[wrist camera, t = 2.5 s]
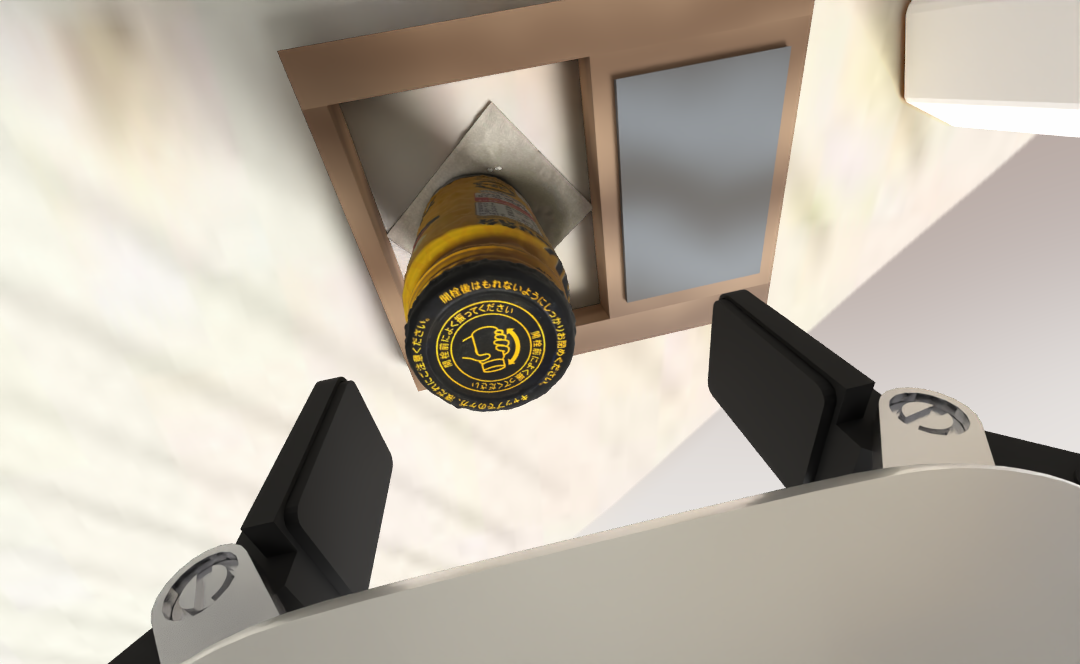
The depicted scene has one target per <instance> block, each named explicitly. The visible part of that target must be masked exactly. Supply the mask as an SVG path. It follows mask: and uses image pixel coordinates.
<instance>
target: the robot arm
mask: <svg viewBox="0 0 1080 664" xmlns="http://www.w3.org/2000/svg"><path fill="white" fill-rule="evenodd" d="M874 384H875V382H874V381H873V380H871V379H870V378H868V377H867V376H866V375H864V374H863V373H862V372H860V371H859V370H857V369H856V368H854V367H853V366H852V365H850V364H849V363H848V362H846V361H845V360H843V359H842V358H841V357H839V356H838V355H837V354H835V353H834V352H832V351H831V350H830V349H828V348H826V347H825V346H824V345H823V344H821V343H820V342H819V341H817V340H816V339H814V338H813V337H812V336H810V335H809V334H807V333H806V332H805V331H803V330H802V329H800V328H799V327H798V326H796V325H795V324H794V323H792V322H791V321H789V320H788V319H787V318H785V317H784V316H782V315H781V314H780V313H778V312H777V311H775V310H774V309H773V308H771V307H770V306H769V305H767V304H766V303H764V302H763V301H762V300H760V299H759V298H757V297H756V296H755V295H753V294H752V293H750V292H749V291H747V290H745V289H743V290H738V291H733V292H728V293H724V294H722V295H720V297H719V300H718V301H715V302H714V304H713V314H712V328H711V343H710V358H709V372H708V387H709V390H710V392H711V394H712V396H713V397H714V398H715V399H716V401H717V402H718V403H719V404H720V406H721V407H722V408H723V409H724V410H725V412H726V413H727V414H728V416H729V417H730V418H731V419H732V421H733V422H734V423H735V424H736V426H737V427H738V428H739V429H740V431H741V432H742V433H743V435H744V436H745V437H746V438H747V439H748V441H749V442H750V443H751V445H752V446H753V447H754V448H755V450H756V451H757V452H758V453H759V455H760V456H761V457H762V458H763V460H764V461H765V462H766V463H767V465H768V466H769V467H770V468H771V470H772V471H773V472H774V473H775V474H776V476H777V477H778V478H779V480H780V481H781V482H782V483H783V485H784V486H785V487H786V488H784V489H780V490H775V491H771V492H768V493H763V494H759V495H754V496H750V497H746V498H742V499H737V500H733V501H729V502H724V503H720V504H716V505H712V506H707V507H703V508H699V509H695V510H690V511H686V512H682V513H678V514H673V515H669V516H665V517H661V518H657V519H652V520H649V521H644V522H640V523H636V524H631V525H627V526H623V527H619V528H615V529H611V530H607V531H602V532H598V533H595V534H590V535H586V536H582V537H577V538H573V539H569V540H565V541H561V542H557V543H553V544H548V545H544V546H540V547H536V548H532V549H528V550H524V551H520V552H515V553H511V554H507V555H503V556H499V557H495V558H491V559H487V560H483V561H479V562H475V563H471V564H467V565H463V566H459V567H455V568H451V569H447V570H442V571H438V572H434V573H430V574H426V575H422V576H418V577H414V578H410V579H406V580H402V581H398V582H394V583H391V584H387V585H383V586H379V587H375V588H372V589H368V588H369V583H370V578H371V573H372V568H373V563H374V558H375V553H376V548H377V543H378V538H379V533H380V528H381V523H382V518H383V513H384V508H385V503H386V498H387V493H388V488H389V483H390V478H391V473H392V468H393V461H392V456H391V453H390V451H389V449H388V447H387V445H386V443H385V441H384V440H383V438H382V436H381V434H380V432H379V430H378V428H377V426H376V424H375V422H374V420H373V418H372V416H371V414H370V412H369V410H368V408H367V406H366V404H365V402H364V400H363V398H362V396H361V394H360V392H359V390H358V388H357V386H356V384H355V383H354V382H353V381H351V380H350V381H347V380H346V379H345V378H344V377H337V378H333V379H328V380H323V381H319V382H317V383H316V384H315V386H314V388H313V390H312V392H311V394H310V396H309V398H308V400H307V402H306V404H305V405H304V407H303V409H302V411H301V413H300V415H299V417H298V419H297V421H296V423H295V425H294V427H293V429H292V430H291V432H290V434H289V436H288V438H287V440H286V442H285V444H284V446H283V448H282V450H281V452H280V454H279V455H278V457H277V459H276V461H275V463H274V465H273V467H272V469H271V471H270V473H269V475H268V477H267V479H266V481H265V482H264V484H263V486H262V488H261V490H260V492H259V494H258V496H257V498H256V500H255V502H254V504H253V506H252V507H251V509H250V511H249V513H248V515H247V517H246V519H245V521H244V523H243V525H242V527H241V530H242V533H241V535H240V536H239V538H238V540H237V542H236V544H232V543H231V544H225V545H220V546H217V547H215V548H212V549H210V550H207V551H205V552H204V553H202V554H200V555H199V556H197V557H195V558H194V559H192V560H191V561H190V562H189V563H187V564H186V565H185V566H184V567H182V568H181V569H180V570H179V571H178V572H177V573H176V574H175V575H174V576H173V577H172V578H171V579H170V580H169V581H168V582H167V583H166V585H165V586H164V588H163V589H162V591H161V592H160V594H159V595H158V597H157V598H156V601H155V603H154V606H153V608H152V612H151V624H152V628H151V629H150V630H149V631H148V632H146V633H145V634H144V635H143V636H141V637H140V638H139V639H138V640H136V641H135V642H134V643H133V644H132V645H130V646H129V647H128V648H127V649H125V650H124V651H123V652H122V653H120V654H119V655H118V656H117V657H116V658H114V659H113V660H112V661H111V662H109V663H108V664H1080V454H1079V453H1074V452H1070V451H1066V450H1062V449H1058V448H1053V447H1050V446H1046V445H1041V444H1037V443H1033V442H1029V441H1025V440H1021V439H1017V438H1012V437H1008V436H1004V435H1000V434H996V433H992V432H987V431H984V429H983V426H982V423H981V421H980V419H979V418H978V416H977V415H976V414H975V413H974V412H973V411H972V410H971V409H970V408H968V407H967V406H966V405H964V404H962V403H961V402H959V401H957V400H955V399H954V398H951V397H948V396H946V395H943V394H941V393H938V392H934V391H930V390H926V389H919V388H909V387H907V388H896V389H892V390H889V391H886V392H885V393H884V394H883V395H881V394H880V393H878V392H877V391H875V390H874V389H873V387H874Z"/></svg>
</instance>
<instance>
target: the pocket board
mask: <svg viewBox="0 0 1080 664" xmlns="http://www.w3.org/2000/svg"><path fill="white" fill-rule="evenodd" d="M814 1H815V0H560V1H555V2H549V3H543V4H538V5H532V6H527V7H521V8H515V9H510V10H504V11H499V12H493V13H487V14H482V15H476V16H471V17H465V18H459V19H454V20H448V21H443V22H437V23H431V24H426V25H420V26H415V27H409V28H403V29H398V30H392V31H386V32H381V33H375V34H370V35H364V36H358V37H353V38H347V39H342V40H336V41H330V42H325V43H319V44H314V45H308V46H302V47H297V48H291V49H286V50H280V51H277V52H278V54H279V57H280V59H281V61H282V64H283V66H284V69H285V71H286V73H287V76H288V78H289V81H290V83H291V86H292V88H293V90H294V93H295V95H296V98H297V100H298V102H299V105H300V107H301V110H302V112H303V114H304V117H305V119H306V122H307V124H308V126H309V129H310V131H311V134H312V136H313V139H314V141H315V143H316V146H317V148H318V151H319V153H320V155H321V158H322V160H323V163H324V165H325V167H326V170H327V172H328V175H329V177H330V180H331V182H332V184H333V187H334V189H335V192H336V194H337V196H338V199H339V201H340V204H341V206H342V208H343V211H344V213H345V216H346V218H347V220H348V223H349V225H350V228H351V230H352V233H353V235H354V237H355V240H356V242H357V245H358V247H359V249H360V252H361V254H362V257H363V259H364V261H365V264H366V266H367V269H368V271H369V274H370V276H371V278H372V281H373V283H374V286H375V288H376V290H377V293H378V295H379V298H380V300H381V302H382V305H383V307H384V310H385V312H386V314H387V317H388V319H389V322H390V324H391V327H392V329H393V331H394V334H395V336H396V339H397V341H398V343H399V346H400V348H401V351H402V353H403V355H404V358H405V360H406V363H407V365H408V368H409V370H410V372H411V375H412V377H413V380H414V382H415V384H416V387H417V389H418V391H422V390H426V388H425V387H424V386H423V385H422V384H421V383H420V381H419V380H418V378H417V377H416V375H415V374H414V372H413V370H412V369H411V367H410V365H409V362H408V359H407V356H406V351H405V342H404V341H405V338H406V337H405V329H404V326H405V324H407V323H406V320H405V314H404V308H403V301H402V293H403V287H404V279H403V276H402V273H401V271H400V268H399V265H398V262H397V260H396V257H395V254H394V252H393V249H392V246H391V243H390V241H389V238H388V237H387V233H386V230H385V227H384V224H383V222H382V219H381V216H380V214H379V211H378V208H377V206H376V203H375V200H374V197H373V195H372V192H371V189H370V187H369V184H368V181H367V178H366V176H365V173H364V170H363V168H362V165H361V162H360V159H359V157H358V154H357V151H356V149H355V146H354V143H353V141H352V138H351V135H350V132H349V130H348V127H347V124H346V122H345V119H344V116H343V113H342V111H341V108H340V105H339V103H344V102H350V101H355V100H360V99H366V98H371V97H376V96H382V95H387V94H392V93H398V92H403V91H408V90H414V89H419V88H424V87H430V86H435V85H440V84H446V83H451V82H456V81H462V80H467V79H472V78H478V77H483V76H488V75H494V74H499V73H504V72H510V71H515V70H520V69H526V68H531V67H536V66H542V65H547V64H552V63H558V62H563V61H568V60H574V59H578V64H579V75H580V86H581V97H582V108H583V119H584V130H585V141H586V152H587V163H588V175H589V186H590V197H591V205H592V206H593V209H592V219H593V230H594V241H595V252H596V263H597V274H598V285H599V296H600V304H596V305H592V306H587V307H583V308H578V309H574V310H572V311H573V313H574V316H575V319H576V322H575V326H576V336H575V348H574V354H573V356H574V355H578V354H582V353H587V352H591V351H595V350H600V349H604V348H608V347H613V346H617V345H621V344H626V343H630V342H634V341H639V340H643V339H647V338H652V337H656V336H660V335H665V334H669V333H673V332H678V331H682V330H686V329H691V328H695V327H699V326H704V325H708V324H712V314H713V304H714V302H715V301H718V300H719V297H720V295H722V294H724V293H728V292H733V291H738V290H743V289H745V290H747V291H749V292H750V293H752V294H753V295H755V296H756V297H757V298H759V299H760V300H762V301H763V302H764V303H766V304H767V299H768V293H769V287H770V280H771V274H772V267H773V261H774V255H775V248H776V242H777V236H778V229H779V223H780V217H781V210H782V204H783V198H784V191H785V185H786V179H787V172H788V166H789V160H790V153H791V147H792V141H793V134H794V128H795V122H796V115H797V109H798V103H799V96H800V90H801V84H802V77H803V71H804V65H805V58H806V52H807V46H808V39H809V33H810V27H811V20H812V14H813V8H814Z"/></svg>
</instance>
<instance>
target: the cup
mask: <svg viewBox="0 0 1080 664" xmlns="http://www.w3.org/2000/svg"><path fill="white" fill-rule="evenodd" d="M904 98H905V100H906V102H907V103H909V104H911V105H913V106H915V107H917V108H919V109H921V110H923V111H925V112H927V113H929V114H931V115H933V116H935V117H936V118H938V119H940V120H942V121H944V122H946V123H948V124H950V125H952V126H956V127H967V128H979V129H990V130H1001V131H1013V132H1024V133H1035V134H1047V135H1058V136H1069V137H1080V0H912V1H911V3H910V4H909V6H908V9H907V13H906V36H905V94H904Z"/></svg>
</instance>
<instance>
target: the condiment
mask: <svg viewBox="0 0 1080 664" xmlns="http://www.w3.org/2000/svg"><path fill="white" fill-rule="evenodd" d="M498 166H500V167H501V168H502V169H501V170H495V167H498ZM488 168H492V169H493V171H492V172H488V170H487V169H488ZM592 209H593V206H592V205H591V204H590V203H589V202H588V201H587V200H586V199H585V198H584V197H583V196H582V195H581V194H580V193H579V192H578V191H577V190H576V189H575V188H574V186H573V185H572V184H571V183H570V182H569V181H568V180H567V179H566V178H565V177H564V176H563V175H562V174H561V173H560V172H559V171H558V170H557V169H556V168H555V167H554V166H553V165H552V164H551V163H550V162H549V161H548V160H547V159H546V158H545V157H544V156H543V155H542V154H541V153H540V152H539V151H538V150H537V149H536V147H535V146H534V145H533V144H532V143H531V142H530V141H529V140H528V139H527V138H526V137H525V136H524V135H523V134H522V133H521V132H520V131H519V130H518V129H517V128H516V127H515V126H514V125H513V124H512V123H511V122H510V121H509V120H508V119H507V118H506V117H505V115H504V114H503V113H502V112H501V111H500V110H499V109H498V108H497V107H496V106H495V105H494V104H493V103H492V102H491V103H490V104H489V105H488V107H487V108H486V109H485V111H484V112H483V113H482V114H481V116H480V117H479V118H478V120H477V121H476V122H475V123H474V125H473V126H472V127H471V128H470V130H469V131H468V132H467V134H466V135H465V136H464V137H463V139H462V140H461V141H460V143H459V144H458V145H457V146H456V148H455V149H454V150H453V151H452V153H451V154H450V155H449V156H448V158H447V159H446V160H445V162H444V163H443V164H442V165H441V167H440V168H439V169H438V170H437V172H436V173H435V174H434V175H433V177H432V178H431V179H430V180H429V182H428V183H427V184H426V186H425V187H424V188H423V189H422V191H421V192H420V193H419V194H418V196H417V197H416V198H415V200H414V201H413V202H412V203H411V205H410V206H409V207H408V208H407V210H406V211H405V212H404V214H403V215H402V216H401V217H400V219H399V220H398V221H397V223H396V224H395V225H394V226H393V228H392V229H391V230H390V232H389V233H388V234H387V237H388V238H389V239H391V240H392V241H393V242H395V243H396V244H397V245H399V246H400V247H402V248H403V249H404V250H406V251H407V252H409V253H410V254H411V258H410V260H409V264H408V266H407V272H406V274H405V278H404V287H403V293H402V301H403V308H404V314H405V320H406V323H407V324H405V326H404V329H405V337H406V338H405V341H404V342H405V351H406V356H407V359H408V362H409V365H410V367H411V369H412V370H413V372H414V374H415V375H416V377H417V378H418V380H419V381H420V383H421V384H422V385H423V386H424V387H425V388H426V389H427V390H429V391H430V392H431V393H433V394H434V395H436V396H438V397H440V398H441V399H443V400H444V401H446V402H447V403H449V404H452V405H453V406H455V407H456V408H458V409H459V408H466V409H469V410H473V411H481V412H486V411H499V410H509V409H513V408H515V407H519V406H522V405H524V404H526V403H528V402H530V401H532V400H534V399H537V398H539V397H540V396H542V395H543V394H545V393H547V392H548V391H549V390H550V389H551V388H552V386H553V385H555V384H556V383H557V382H558V381H559V380H560V379H561V378H562V376H563V375H564V373H565V372H566V370H567V368H568V366H569V365H570V362H571V360H572V357H573V354H574V348H575V336H576V326H575V322H576V319H575V316H574V313H573V311H572V307H571V304H570V303H569V301H570V296H569V284H568V281H567V275H566V273H565V270H564V268H563V266H562V263H561V261H560V259H559V258H558V256H557V255H556V253H555V251H554V248H555V247H556V246H557V245H558V244H559V243H560V242H561V241H562V240H563V239H564V238H565V237H566V236H567V235H568V234H569V232H570V231H571V230H572V229H573V228H574V227H576V226H577V225H578V224H579V223H580V222H581V221H582V220H583V219H584V217H585V216H586V215H587V214H588V213H589V212H590V211H591V210H592Z"/></svg>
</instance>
